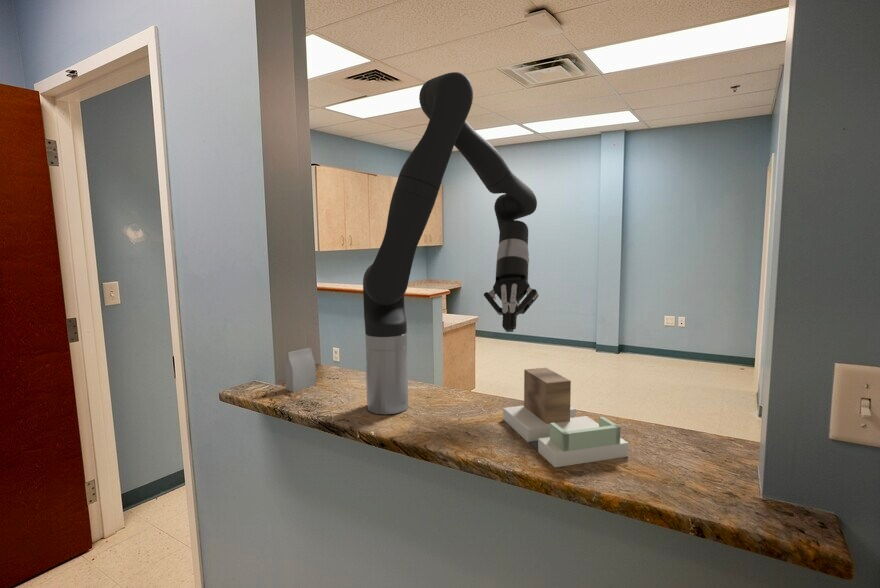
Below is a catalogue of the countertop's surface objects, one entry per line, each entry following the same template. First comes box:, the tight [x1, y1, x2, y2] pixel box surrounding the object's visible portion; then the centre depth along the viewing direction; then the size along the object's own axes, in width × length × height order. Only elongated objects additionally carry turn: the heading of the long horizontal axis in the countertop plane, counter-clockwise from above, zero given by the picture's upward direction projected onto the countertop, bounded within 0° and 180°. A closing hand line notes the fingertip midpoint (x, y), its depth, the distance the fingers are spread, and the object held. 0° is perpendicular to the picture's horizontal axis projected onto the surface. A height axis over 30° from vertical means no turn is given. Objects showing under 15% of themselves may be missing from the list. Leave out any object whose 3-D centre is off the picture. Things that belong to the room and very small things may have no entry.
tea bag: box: [284, 347, 317, 393], centre depth 121 cm, size 4×7×10 cm, turn 139°
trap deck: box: [502, 405, 630, 468], centre depth 89 cm, size 22×14×6 cm, turn 15°
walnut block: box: [523, 367, 572, 424], centre depth 94 cm, size 10×5×8 cm, turn 15°
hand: (509, 330), depth 104 cm, fingers closed
